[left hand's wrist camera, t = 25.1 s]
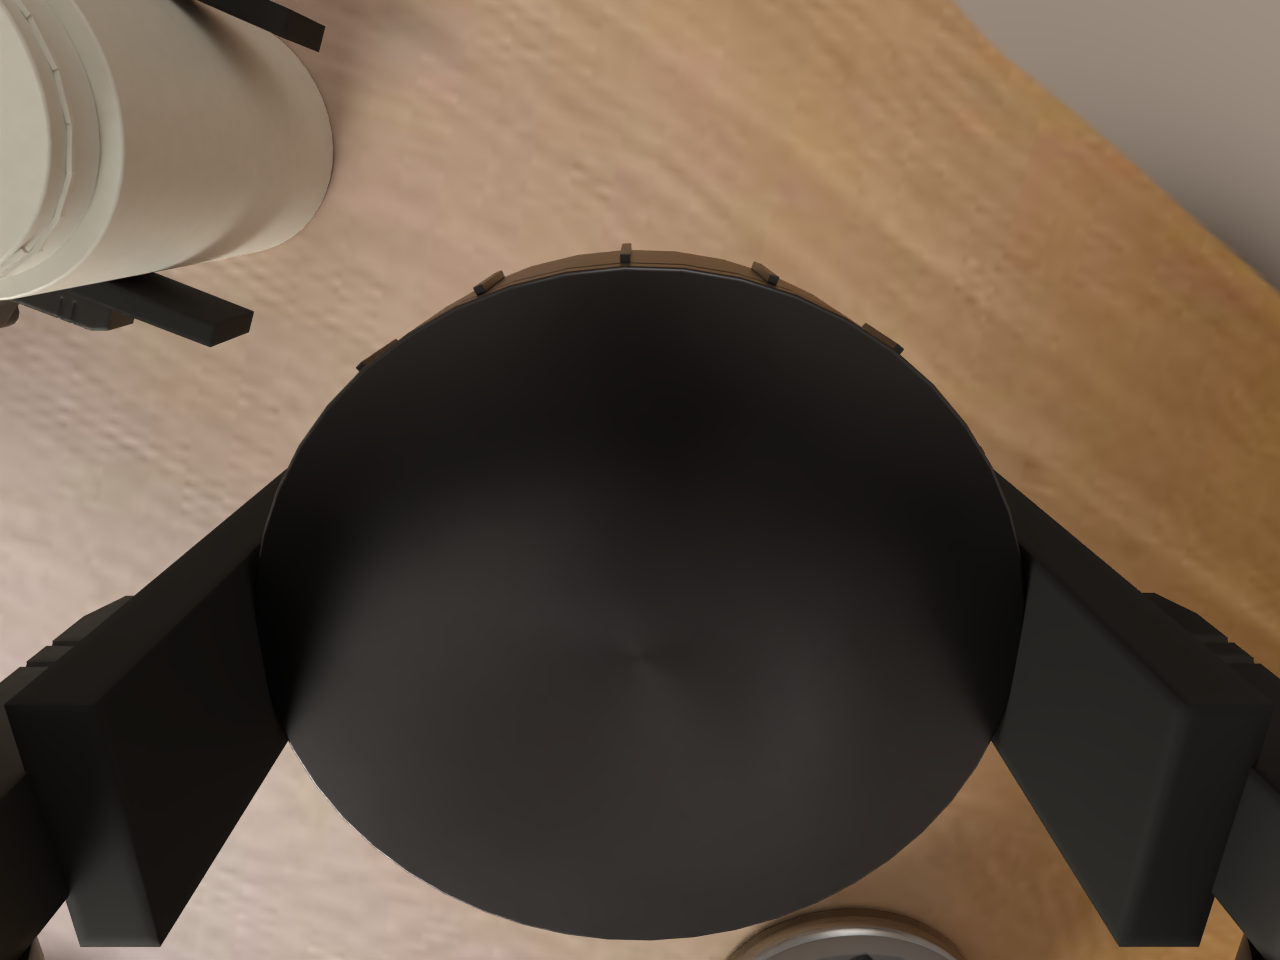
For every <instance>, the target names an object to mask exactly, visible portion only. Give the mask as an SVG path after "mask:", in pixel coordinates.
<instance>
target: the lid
mask: <svg viewBox="0 0 1280 960" xmlns="http://www.w3.org/2000/svg"><path fill="white" fill-rule="evenodd" d="M473 289H474V292H472V293H470V294H468V295H467V296H465V297H463V298H461V299H460V300H458V301H456V302H454V303H453V304H451V305H449V306H447V307H446V308H444V309H443V310H441V311H440V312H438V313H437V314H435V315H434V316H432V317H431V318H430V319H428V320H427V321H425V322H424V323H422V324H421V325H419V326H418V327H416V328H415V329H413V330H412V331H411V332H409V333H408V334H406V335H405V336H404V337H402V338H401V339H400V340H397V339H395V340H393V341H392V342H390V343H389V344H387V345H386V346H384V347H383V348H381V349H380V350H378V351H377V352H375V353H374V354H372V355H371V356H369V357H368V358H367V359H365V360H364V361H362V362H361V363H360V364H359V365H358V366H357V367H356V369H357V370H358V371H359V373H358V374H357V375H356V376H355V377H354V378H353V379H352V380H351V381H350V382H349V383H348V384H347V385H346V386H345V387H344V388H343V389H342V391H341V392H340V393H339V394H338V395H337V396H336V397H335V398H334V399H333V400H332V401H331V402H330V403H329V404H328V405H327V407H326V408H325V409H324V411H323V412H322V414H321V415H320V417H319V418H318V419H317V421H316V422H315V424H314V425H313V426H312V428H311V429H310V431H309V432H308V433H307V435H306V436H305V438H304V439H303V440H302V442H301V443H300V445H299V446H298V448H297V450H296V452H295V454H294V456H293V458H292V460H291V462H290V464H289V466H288V468H287V470H286V472H285V474H284V476H283V478H282V480H281V482H280V484H279V486H278V488H277V491H276V494H275V497H274V500H273V503H272V506H271V510H270V513H269V516H268V519H267V522H266V525H265V528H264V531H263V535H262V541H261V548H260V554H259V560H258V567H257V573H256V583H255V618H256V625H257V631H258V637H259V642H260V648H261V654H262V659H263V665H264V670H265V675H266V680H267V685H268V689H269V694H270V697H271V701H272V704H273V707H274V711H275V713H276V715H277V717H278V719H279V721H280V724H281V726H282V728H283V730H284V732H285V734H286V737H287V739H288V741H289V743H290V745H291V747H292V749H293V751H294V753H295V754H296V756H297V757H298V759H299V760H300V762H301V764H302V765H303V767H304V768H305V770H306V771H307V773H308V775H309V776H310V778H311V779H312V781H313V782H314V784H315V785H316V787H317V788H318V789H319V790H320V791H321V793H322V794H323V795H324V796H325V797H326V799H327V800H328V801H329V802H330V803H331V805H332V806H333V807H334V808H335V809H336V811H337V812H338V813H339V814H340V816H341V817H342V818H343V819H344V820H345V821H346V822H347V823H348V824H350V825H351V826H352V827H353V828H354V829H355V830H356V831H357V832H358V833H359V834H360V835H361V836H362V837H363V838H364V839H365V840H366V841H368V842H369V843H370V844H371V845H372V846H373V847H374V848H375V849H377V850H378V851H379V852H381V853H382V854H383V855H385V856H386V857H388V858H389V859H390V860H392V861H393V862H394V863H396V864H397V865H398V866H400V867H401V868H402V869H404V870H405V871H406V872H408V873H409V874H411V875H413V876H415V877H416V878H418V879H420V880H421V881H423V882H425V883H427V884H428V885H430V886H432V887H433V888H435V889H437V890H438V891H440V892H442V893H444V894H446V895H448V896H450V897H452V898H455V899H457V900H459V901H461V902H463V903H466V904H468V905H470V906H472V907H475V908H477V909H479V910H481V911H484V912H487V913H490V914H493V915H496V916H499V917H502V918H505V919H508V920H511V921H514V922H517V923H520V924H523V925H527V926H531V927H536V928H540V929H545V930H549V931H554V932H558V933H563V934H568V935H577V936H585V937H593V938H601V939H616V940H662V939H675V938H688V937H697V936H703V935H709V934H714V933H720V932H726V931H732V930H737V929H740V928H744V927H748V926H751V925H755V924H758V923H762V922H765V921H769V920H773V919H776V918H779V917H782V916H784V915H787V914H789V913H792V912H794V911H797V910H799V909H802V908H805V907H807V906H810V905H812V904H815V903H817V902H819V901H821V900H823V899H825V898H827V897H829V896H831V895H833V894H835V893H836V892H838V891H840V890H842V889H844V888H846V887H848V886H850V885H852V884H854V883H856V882H857V881H859V880H860V879H862V878H863V877H865V876H866V875H868V874H869V873H871V872H872V871H874V870H875V869H877V868H878V867H880V866H881V865H883V864H884V863H886V862H887V861H889V860H890V859H891V858H892V857H894V856H895V855H896V854H897V853H898V852H900V851H901V850H902V849H903V848H904V847H906V846H907V845H908V844H909V843H910V842H911V841H913V840H914V839H915V838H916V837H917V836H919V835H920V834H921V833H922V832H923V831H924V830H925V829H926V828H927V827H928V826H929V825H930V824H931V823H932V822H933V820H934V819H935V818H936V817H937V816H938V815H939V814H940V813H941V812H942V811H943V810H944V809H945V808H946V807H947V806H948V804H949V803H950V802H951V801H952V800H953V799H954V797H955V796H956V794H957V793H958V792H959V790H960V789H961V788H962V786H963V785H964V783H965V782H966V781H967V779H968V778H969V777H970V775H971V774H972V772H973V771H974V770H975V768H976V767H977V765H978V763H979V761H980V760H981V758H982V756H983V754H984V752H985V750H986V749H987V747H988V745H989V743H990V741H991V739H992V738H993V736H994V734H995V732H996V730H997V728H998V725H999V723H1000V720H1001V717H1002V715H1003V712H1004V709H1005V707H1006V704H1007V701H1008V699H1009V696H1010V692H1011V687H1012V682H1013V676H1014V671H1015V666H1016V661H1017V655H1018V650H1019V644H1020V638H1021V632H1022V626H1023V620H1024V606H1025V598H1024V586H1023V574H1022V561H1021V554H1020V549H1019V545H1018V541H1017V537H1016V533H1015V528H1014V524H1013V520H1012V516H1011V512H1010V509H1009V506H1008V504H1007V502H1006V499H1005V497H1004V494H1003V492H1002V489H1001V487H1000V485H999V482H998V480H997V477H996V475H995V472H994V470H993V468H992V466H991V464H990V462H989V461H988V459H987V457H986V456H985V453H984V451H983V449H982V447H981V446H979V444H978V442H977V441H976V439H975V437H974V436H973V434H972V432H971V431H970V429H969V427H968V426H967V424H966V423H965V422H964V421H963V419H962V418H961V417H960V416H959V415H958V413H957V412H956V411H955V410H954V409H953V407H952V406H951V405H950V404H949V403H948V401H947V400H946V399H945V398H944V397H943V395H942V394H941V393H940V392H939V391H938V389H937V388H936V387H935V386H934V385H933V384H932V383H931V382H930V381H929V380H928V379H927V378H926V377H924V376H923V375H922V374H921V373H920V372H919V371H918V370H917V369H916V368H914V367H913V366H912V365H911V364H910V363H909V362H908V361H907V360H905V359H904V358H903V357H902V356H901V355H900V354H901V352H902V351H903V350H904V349H903V348H902V347H901V346H900V345H899V344H897V343H896V342H894V341H893V340H891V339H890V338H888V337H887V336H885V335H884V334H882V333H881V332H879V331H877V330H876V329H874V328H873V327H871V326H870V325H868V324H867V323H865V324H864V325H863V326H862V327H861V326H859V325H858V324H856V323H855V322H853V321H852V320H851V319H849V318H848V317H846V316H844V315H843V314H841V313H840V312H838V311H837V310H835V309H834V308H832V307H831V306H829V305H828V304H826V303H825V302H823V301H822V300H820V299H819V298H817V297H816V296H814V295H813V294H811V293H809V292H806V291H804V290H802V289H800V288H798V287H796V286H794V285H792V284H790V283H787V282H785V281H783V280H781V279H779V277H778V276H777V275H776V274H774V273H773V272H771V271H770V270H769V269H767V268H766V267H765V266H763V265H762V264H760V263H757V262H753V265H752V268H749V267H746V266H742V265H739V264H736V263H733V262H730V261H726V260H723V259H717V258H711V257H705V256H699V255H693V254H687V253H682V252H675V251H644V250H631V244H630V243H629V244H622V248H621V251H612V252H602V253H593V254H583V255H576V256H572V257H568V258H564V259H560V260H556V261H552V262H547V263H543V264H539V265H535V266H531V267H529V268H526V269H524V270H521V271H519V272H516V273H513V274H511V275H508V276H506V277H505V276H504V274H503V272H502V271H499V272H496V273H494V274H493V275H491V276H490V277H488V278H487V279H485V280H484V281H482V282H481V283H479V284H478V285H476V286H475V287H474V288H473Z"/></svg>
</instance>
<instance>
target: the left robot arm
mask: <svg viewBox="0 0 1280 960" xmlns="http://www.w3.org/2000/svg"><path fill="white" fill-rule="evenodd" d="M286 470H287V469H286ZM286 470H285V471H283V472H282V473H281V474H280V475H279V476H277V477H276V478H275V479H274V480H273V481H271V482H270V483H269V484H268V485H267V486H265V487H264V488H263V489H262V490H261V491H259V492H258V493H257V494H256V495H255V496H253V497H252V498H251V499H250V500H249V501H247V502H246V503H245V504H244V505H243V506H241V507H240V508H239V509H238V510H237V511H235V512H234V513H233V514H232V515H231V516H229V517H228V518H227V519H226V520H225V521H223V522H222V523H221V524H220V525H219V526H217V527H216V528H215V529H214V530H213V531H211V532H210V533H209V534H208V535H207V536H205V537H204V538H203V539H202V540H201V541H199V542H198V543H197V544H196V545H195V546H193V547H192V548H191V549H190V550H189V551H187V552H186V553H185V554H184V555H183V556H181V557H180V558H179V559H178V560H177V561H175V562H174V563H173V564H172V565H171V566H169V567H168V568H167V569H166V570H165V571H163V572H162V573H161V574H160V575H159V576H157V577H156V578H155V579H154V580H153V581H151V582H150V583H149V584H148V585H147V586H145V587H144V588H143V589H142V590H141V591H139V592H138V593H137V594H136V595H135V596H125V597H123V598H121V599H119V600H117V601H114V602H112V603H110V604H108V605H106V606H104V607H102V608H100V609H98V610H96V611H94V612H92V613H90V614H88V615H86V616H84V617H82V618H81V619H80V620H78V621H77V622H76V623H75V624H73V625H72V626H71V627H70V628H68V629H67V630H66V631H65V632H63V633H62V634H61V635H60V636H58V637H57V638H56V639H55V640H53V644H52V646H46V647H45V648H43V649H42V650H41V651H39V652H38V653H37V654H36V655H34V656H33V657H32V658H31V659H29V660H28V661H27V665H26V667H19V668H18V669H17V670H16V671H14V672H13V673H12V674H11V675H9V676H8V677H7V678H5V679H4V680H3V681H2V682H0V960H44V955H43V952H42V949H41V946H40V943H39V941H38V938H37V935H38V934H39V933H40V932H41V930H42V929H43V928H44V927H45V925H46V924H47V923H48V922H49V920H50V919H51V918H52V916H53V915H54V914H55V913H56V911H57V910H58V909H59V908H60V906H61V905H62V904H63V903H64V901H65V900H66V903H67V906H68V909H69V912H70V915H71V919H72V922H73V925H74V928H75V931H76V934H77V937H78V941H79V944H80V947H160V946H161V945H162V943H163V941H164V940H165V938H166V937H167V935H168V933H169V932H170V930H171V929H172V927H173V925H174V924H175V922H176V921H177V919H178V917H179V916H180V914H181V912H182V911H183V909H184V908H185V906H186V904H187V903H188V901H189V900H190V898H191V896H192V895H193V893H194V892H195V890H196V888H197V887H198V885H199V883H200V882H201V880H202V879H203V877H204V875H205V874H206V872H207V871H208V869H209V867H210V866H211V864H212V863H213V861H214V859H215V858H216V856H217V854H218V853H219V851H220V850H221V848H222V846H223V845H224V843H225V842H226V840H227V838H228V837H229V835H230V834H231V832H232V830H233V829H234V827H235V825H236V824H237V822H238V821H239V819H240V817H241V816H242V814H243V813H244V811H245V809H246V808H247V806H248V805H249V803H250V801H251V800H252V798H253V796H254V795H255V793H256V792H257V790H258V788H259V787H260V785H261V784H262V782H263V780H264V779H265V777H266V776H267V774H268V772H269V771H270V769H271V767H272V766H273V764H274V763H275V761H276V759H277V758H278V756H279V755H280V753H281V751H282V750H283V748H284V747H285V745H286V743H287V742H288V739H287V737H286V734H285V732H284V730H283V728H282V726H281V724H280V721H279V719H278V717H277V715H276V713H275V711H274V707H273V704H272V701H271V697H270V694H269V689H268V685H267V680H266V675H265V670H264V665H263V659H262V654H261V648H260V642H259V637H258V631H257V625H256V618H255V583H256V573H257V567H258V560H259V554H260V548H261V541H262V535H263V531H264V528H265V525H266V522H267V519H268V516H269V513H270V510H271V506H272V503H273V500H274V497H275V494H276V491H277V488H278V486H279V484H280V482H281V480H282V478H283V476H284V474H285V472H286ZM993 470H994V469H993ZM994 472H995V475H996V477H997V480H998V482H999V485H1000V487H1001V489H1002V492H1003V494H1004V497H1005V499H1006V502H1007V504H1008V506H1009V509H1010V512H1011V516H1012V520H1013V524H1014V528H1015V533H1016V537H1017V541H1018V545H1019V549H1020V554H1021V561H1022V574H1023V586H1024V598H1025V606H1024V620H1023V626H1022V632H1021V638H1020V644H1019V650H1018V655H1017V661H1016V666H1015V671H1014V676H1013V682H1012V687H1011V692H1010V696H1009V699H1008V701H1007V704H1006V707H1005V709H1004V712H1003V715H1002V717H1001V720H1000V723H999V725H998V728H997V730H996V732H995V734H994V736H993V738H992V739H991V741H992V743H993V744H994V746H995V747H996V749H997V751H998V752H999V754H1000V755H1001V757H1002V759H1003V760H1004V762H1005V764H1006V765H1007V767H1008V768H1009V770H1010V772H1011V773H1012V775H1013V776H1014V778H1015V780H1016V781H1017V783H1018V784H1019V786H1020V788H1021V789H1022V791H1023V793H1024V794H1025V796H1026V797H1027V799H1028V801H1029V802H1030V804H1031V805H1032V807H1033V809H1034V810H1035V812H1036V813H1037V815H1038V817H1039V818H1040V820H1041V822H1042V823H1043V825H1044V826H1045V828H1046V830H1047V831H1048V833H1049V834H1050V836H1051V838H1052V839H1053V841H1054V842H1055V844H1056V846H1057V847H1058V849H1059V851H1060V852H1061V854H1062V855H1063V857H1064V859H1065V860H1066V862H1067V863H1068V865H1069V867H1070V868H1071V870H1072V871H1073V873H1074V875H1075V876H1076V878H1077V880H1078V881H1079V883H1080V884H1081V886H1082V888H1083V889H1084V891H1085V892H1086V894H1087V896H1088V897H1089V899H1090V900H1091V902H1092V904H1093V905H1094V907H1095V909H1096V910H1097V912H1098V913H1099V915H1100V917H1101V918H1102V920H1103V921H1104V923H1105V925H1106V926H1107V928H1108V929H1109V931H1110V933H1111V934H1112V936H1113V938H1114V939H1115V941H1116V942H1117V944H1118V946H1119V947H1199V945H1200V942H1201V939H1202V935H1203V932H1204V929H1205V926H1206V923H1207V920H1208V916H1209V913H1210V910H1211V907H1212V904H1213V901H1214V897H1216V899H1217V900H1218V901H1219V902H1220V904H1221V905H1222V906H1223V907H1224V909H1225V910H1226V911H1227V912H1228V914H1229V915H1230V916H1231V917H1232V919H1233V920H1234V921H1235V922H1236V924H1237V925H1238V926H1239V927H1240V929H1241V930H1242V931H1243V933H1244V935H1243V938H1242V941H1241V943H1240V946H1239V949H1238V952H1237V955H1236V958H1235V960H1280V679H1279V678H1278V677H1277V676H1275V675H1274V674H1273V673H1272V672H1270V671H1269V670H1268V669H1267V668H1265V667H1264V666H1263V665H1261V664H1254V661H1253V659H1254V658H1253V657H1251V656H1250V655H1249V654H1248V653H1246V652H1245V651H1244V650H1242V649H1241V648H1240V647H1239V646H1237V645H1236V644H1235V643H1228V638H1227V637H1226V636H1225V635H1223V634H1222V633H1221V632H1220V631H1218V630H1217V629H1216V628H1215V627H1213V626H1212V625H1211V624H1209V623H1208V622H1207V621H1206V620H1204V619H1203V618H1202V617H1201V616H1199V615H1198V614H1197V613H1195V612H1193V611H1191V610H1188V609H1186V608H1184V607H1182V606H1180V605H1178V604H1176V603H1174V602H1172V601H1170V600H1168V599H1166V598H1164V597H1162V596H1160V595H1157V594H1155V593H1141V592H1140V591H1139V590H1138V589H1136V588H1135V587H1134V586H1133V585H1132V584H1130V583H1129V582H1128V581H1127V580H1126V579H1124V578H1123V577H1122V576H1121V575H1120V574H1118V573H1117V572H1116V571H1115V570H1114V569H1112V568H1111V567H1110V566H1109V565H1108V564H1106V563H1105V562H1104V561H1103V560H1102V559H1100V558H1099V557H1098V556H1097V555H1096V554H1094V553H1093V552H1092V551H1091V550H1090V549H1088V548H1087V547H1086V546H1085V545H1084V544H1082V543H1081V542H1080V541H1079V540H1078V539H1076V538H1075V537H1074V536H1073V535H1072V534H1070V533H1069V532H1068V531H1067V530H1066V529H1064V528H1063V527H1062V526H1061V525H1060V524H1058V523H1057V522H1056V521H1055V520H1054V519H1052V518H1051V517H1050V516H1049V515H1048V514H1046V513H1045V512H1044V511H1043V510H1042V509H1040V508H1039V507H1038V506H1037V505H1036V504H1034V503H1033V502H1032V501H1031V500H1030V499H1028V498H1027V497H1026V496H1025V495H1024V494H1022V493H1021V492H1020V491H1019V490H1018V489H1016V488H1015V487H1014V486H1013V485H1012V484H1010V483H1009V482H1008V481H1007V480H1006V479H1004V478H1003V477H1002V476H1001V475H1000V474H998V473H997V472H996V471H995V470H994ZM728 960H966V959H965V957H964V955H963V954H962V953H961V952H960V951H959V950H958V948H957V947H956V946H955V945H954V944H953V943H952V942H950V941H949V940H948V939H947V938H946V937H944V936H943V935H942V934H940V933H939V932H937V931H936V930H934V929H932V928H930V927H929V926H927V925H925V924H922V923H920V922H918V921H916V920H913V919H910V918H907V917H905V916H901V915H897V914H893V913H889V912H883V911H877V910H867V909H839V910H830V911H822V912H817V913H812V914H807V915H804V916H800V917H797V918H793V919H791V920H788V921H785V922H782V923H780V924H778V925H776V926H773V927H771V928H769V929H767V930H766V931H764V932H762V933H760V934H758V935H757V936H755V937H754V938H752V939H751V940H749V941H748V942H747V943H745V944H744V945H743V946H742V947H740V948H739V949H738V950H737V951H736V952H735V953H734V954H733V955H732V956H731V957H730V958H729V959H728Z"/></svg>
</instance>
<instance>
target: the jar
mask: <svg viewBox="0 0 1280 960" xmlns="http://www.w3.org/2000/svg"><path fill="white" fill-rule="evenodd" d="M332 165H333V141H332V131H331V126H330V122H329V117H328V114H327V111H326V108H325V105H324V102H323V99H322V97H321V95H320V93H319V90H318V88H317V86H316V84H315V82H314V81H313V79H312V77H311V76H310V74H309V73H308V71H307V69H306V68H305V67H304V65H303V64H302V63H301V62H300V60H299V59H298V58H297V56H296V55H295V54H294V53H293V52H292V51H291V50H290V49H289V48H288V47H287V46H286V45H285V44H284V43H283V42H282V41H281V40H279V39H278V38H277V37H276V36H275V35H273V34H272V33H271V32H268V31H266V30H264V29H261V28H259V27H257V26H255V25H252V24H250V23H248V22H245V21H243V20H241V19H239V18H236V17H234V16H232V15H229V14H227V13H225V12H222V11H220V10H218V9H216V8H213V7H211V6H209V5H206V4H204V3H202V2H200V1H197V0H0V300H9V299H15V298H20V297H26V296H31V295H36V294H41V293H47V292H52V291H57V290H62V289H67V288H73V287H78V286H83V285H88V284H94V283H99V282H104V281H109V280H114V279H120V278H125V277H130V276H135V275H141V274H146V273H151V272H156V271H162V270H167V269H172V268H177V267H182V266H188V265H193V264H198V263H203V262H209V261H214V260H219V259H224V258H230V257H235V256H240V255H245V254H250V253H256V252H259V251H263V250H267V249H270V248H273V247H275V246H277V245H280V244H282V243H284V242H285V241H287V240H288V239H290V238H292V237H293V236H294V235H296V234H297V233H298V232H299V231H300V230H302V229H303V228H304V227H305V226H306V224H307V223H308V222H309V221H310V220H311V219H312V218H313V216H314V214H315V213H316V211H317V210H318V208H319V207H320V205H321V203H322V200H323V198H324V196H325V194H326V191H327V188H328V185H329V181H330V177H331V171H332Z"/></svg>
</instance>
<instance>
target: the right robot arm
mask: <svg viewBox="0 0 1280 960" xmlns="http://www.w3.org/2000/svg"><path fill="white" fill-rule="evenodd" d="M197 1H200V2H202V3H204V4H206V5H209V6H211V7H213V8H216V9H218V10H220V11H222V12H225V13H227V14H229V15H232V16H234V17H236V18H239V19H241V20H243V21H245V22H248V23H250V24H252V25H255V26H257V27H259V28H261V29H264V30H266V31H268V32H271V33H273V34H275V35H277V36H280V37H282V38H284V39H287V40H290V41H292V42H295V43H297V44H300V45H302V46H305V47H307V48H310V49H312V50H315V51H317V52H319V50H320V46H321V42H322V38H323V34H324V30H325V26H323V25H321V24H319V23H317V22H315V21H313V20H311V19H309V18H307V17H305V16H302V15H300V14H298V13H296V12H294V11H292V10H290V9H288V8H286V7H283V6H281V5H279V4H277V3H274V2H272V1H270V0H197ZM19 304H22V305H25V306H27V307H30V308H32V309H35V310H38V311H40V312H43V313H46V314H48V315H51V316H54V317H56V318H60V319H62V320H64V321H67V322H69V323H73V324H75V325H77V326H80V327H83V328H85V329H88V330H95V331H108V330H112V329H115V328H119V327H122V326H126V325H129V324H133V321H134V318H135V319H138V320H140V321H143V322H146V323H148V324H151V325H154V326H156V327H159V328H161V329H164V330H167V331H169V332H172V333H174V334H177V335H180V336H182V337H185V338H187V339H190V340H193V341H195V342H198V343H201V344H203V345H206V346H208V347H212V346H215V345H217V344H220V343H222V342H225V341H227V340H230V339H232V338H235V337H238V336H240V335H243V334H245V333H248V332H249V330H250V326H251V322H252V318H253V314H254V311H251V310H249V309H246V308H244V307H241V306H238V305H236V304H233V303H231V302H228V301H226V300H223V299H221V298H218V297H215V296H213V295H210V294H208V293H205V292H203V291H200V290H198V289H195V288H192V287H190V286H187V285H185V284H182V283H180V282H177V281H175V280H172V279H169V278H167V277H164V276H162V275H159V274H157V273H154V272H151V273H146V274H141V275H135V276H130V277H125V278H120V279H114V280H109V281H104V282H99V283H94V284H88V285H83V286H78V287H73V288H67V289H62V290H57V291H52V292H47V293H41V294H36V295H31V296H26V297H20V298H15V299H9V300H0V328H3V327H7V326H10V325H12V324H14V323H15V322H16V321H17V320H18V317H19V309H18V305H19Z"/></svg>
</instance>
